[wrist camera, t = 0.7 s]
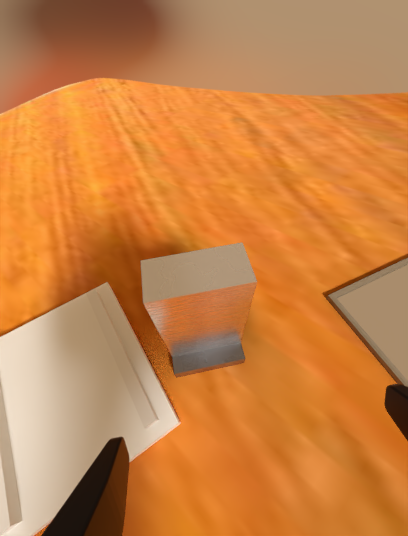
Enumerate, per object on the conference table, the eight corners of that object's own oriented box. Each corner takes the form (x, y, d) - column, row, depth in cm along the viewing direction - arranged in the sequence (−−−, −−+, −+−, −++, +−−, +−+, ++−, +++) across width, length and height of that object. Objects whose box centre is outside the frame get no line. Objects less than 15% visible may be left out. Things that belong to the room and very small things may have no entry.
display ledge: (181, 423, 21) (176, 421, 19) (5, 557, 17) (-28, 575, 14) (111, 288, 29) (103, 276, 26) (-20, 357, 25) (-43, 349, 22)
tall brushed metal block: (243, 362, 23) (266, 304, 13) (176, 377, 23) (144, 329, 13) (228, 306, 27) (236, 225, 16) (169, 318, 26) (139, 242, 16)
